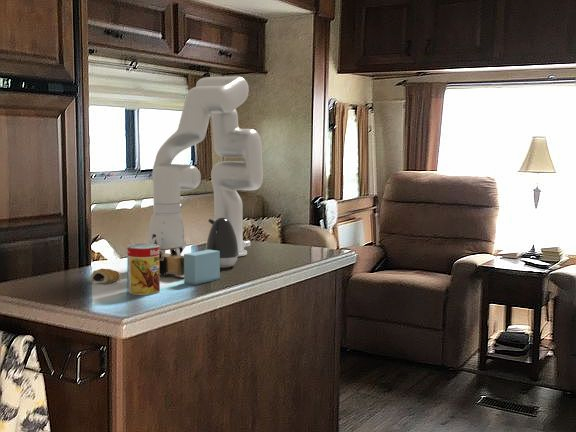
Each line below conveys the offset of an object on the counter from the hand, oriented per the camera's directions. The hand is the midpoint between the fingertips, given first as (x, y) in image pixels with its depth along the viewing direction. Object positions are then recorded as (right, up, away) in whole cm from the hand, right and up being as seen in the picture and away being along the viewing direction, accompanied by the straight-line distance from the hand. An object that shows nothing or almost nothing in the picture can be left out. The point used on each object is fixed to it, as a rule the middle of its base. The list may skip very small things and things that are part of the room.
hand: (167, 271), depth 201 cm
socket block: (+11, -2, -8) cm, 14 cm away
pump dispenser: (+14, 0, +14) cm, 20 cm away
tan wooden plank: (-2, 0, +2) cm, 3 cm away
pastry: (-16, -2, -9) cm, 18 cm away
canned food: (-2, -4, -22) cm, 22 cm away
